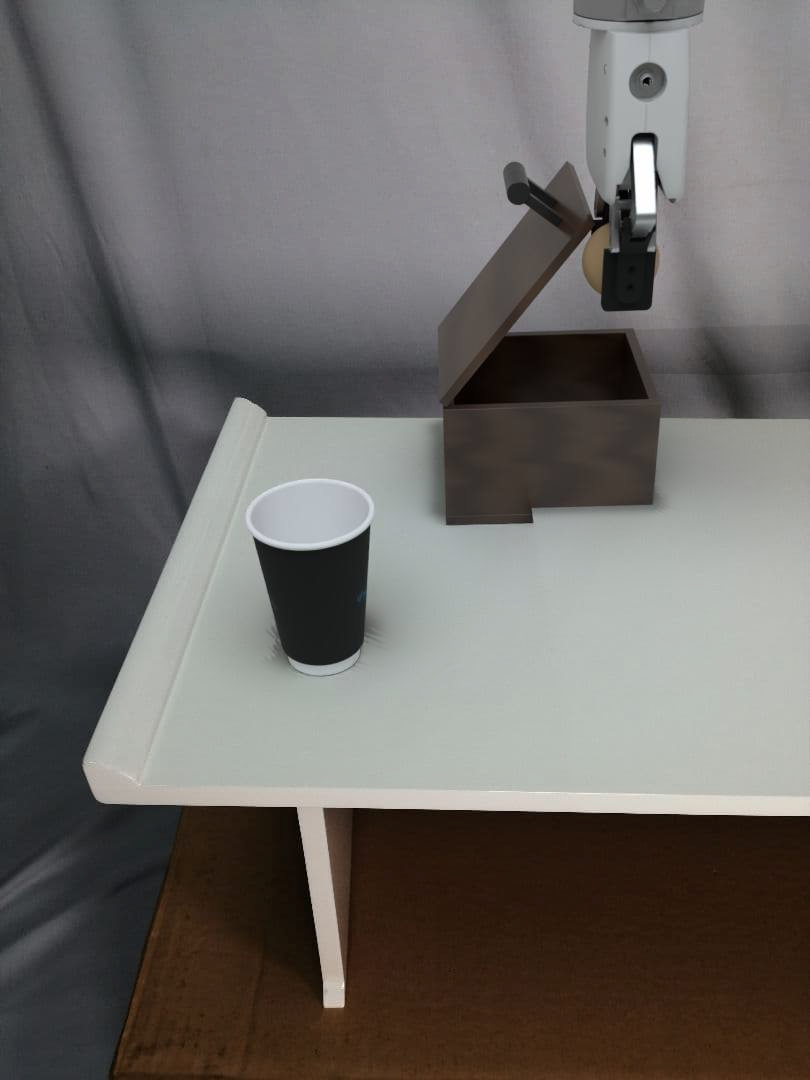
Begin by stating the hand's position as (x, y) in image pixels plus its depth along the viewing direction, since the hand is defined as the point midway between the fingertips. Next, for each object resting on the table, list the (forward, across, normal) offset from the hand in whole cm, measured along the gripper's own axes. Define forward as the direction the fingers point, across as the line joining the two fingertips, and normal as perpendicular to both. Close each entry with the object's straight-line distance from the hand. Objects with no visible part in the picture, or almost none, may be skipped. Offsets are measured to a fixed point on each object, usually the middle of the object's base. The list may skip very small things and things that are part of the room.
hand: (619, 290), depth 78 cm
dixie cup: (+19, -14, +20) cm, 31 cm away
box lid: (+3, +8, +6) cm, 11 cm away
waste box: (+19, +8, +4) cm, 21 cm away
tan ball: (0, 0, 0) cm, 0 cm away
